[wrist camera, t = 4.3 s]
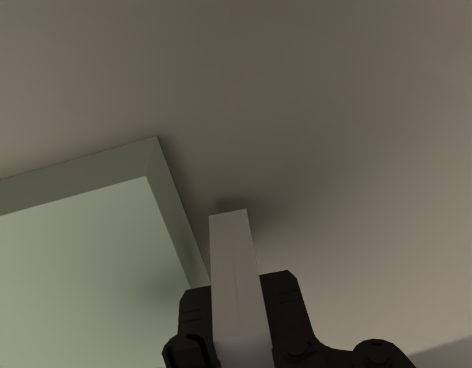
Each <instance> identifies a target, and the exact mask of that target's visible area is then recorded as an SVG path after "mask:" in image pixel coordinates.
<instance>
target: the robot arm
mask: <svg viewBox="0 0 472 368" xmlns="http://www.w3.org/2000/svg"><path fill="white" fill-rule="evenodd" d="M209 236H210V265H211V285H209V286H204V287H198V288H193V289H188V290H186V291H185V292H184V294H183V296H182V298H181V299H180V301H179V316H178V332H177V334H176V335H175V336H173V337H172V338H171V339H169V341H168V342H167V343H166V344H165V345H164V348H163V351H162V356H163V359H164V362H165V365H166V368H416V367H415V366H414V365H413V363H412V362H411V361H410V360H409V359H408V358H407V357H406V355H405V354H404V353H403V352H402V351H401V350H400V349H399V348H398V347H397V346H395V345H394V344H393V343H390V342H388V341H385V340H382V339H369V340H365V341H362V342H361V343H359V344H358V345H356V347H355V348H354V350H353V351H346V350H338V349H333V348H330V347H328V346H325V345H324V344H322V343H321V342H320V341H319V340H318V339H317V338H316V337H315V335H314V332H313V330H312V326H311V323H310V320H309V317H308V313H307V310H306V307H305V304H304V300H303V297H302V294H301V291H300V288H299V284H298V281H297V278H296V277H295V276H294V275H293V274H292V273H290V272H289V271H288V270H284V271H279V272H273V273H268V274H263V275H259V273H258V268H257V263H256V257H255V252H254V247H253V242H252V236H251V231H250V226H249V221H248V215H247V210H246V209H242V210H236V211H231V212H226V213H220V214H215V215H210V216H209Z"/></svg>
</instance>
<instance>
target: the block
mask: <svg viewBox="0 0 472 368" xmlns="http://www.w3.org/2000/svg"><path fill="white" fill-rule="evenodd" d="M209 285H211V281H210V278H209V276H208V273H207V270H206V268H205V265H204V262H203V260H202V257H201V254H200V252H199V249H198V246H197V243H196V241H195V238H194V235H193V233H192V230H191V227H190V225H189V222H188V219H187V216H186V214H185V211H184V208H183V206H182V203H181V200H180V198H179V195H178V192H177V190H176V187H175V184H174V181H173V179H172V176H171V173H170V171H169V168H168V165H167V163H166V160H165V157H164V155H163V152H162V149H161V146H160V144H159V141H158V138H157V136H154V137H150V138H147V139H143V140H140V141H136V142H133V143H129V144H125V145H122V146H118V147H115V148H111V149H108V150H104V151H101V152H97V153H93V154H90V155H86V156H83V157H79V158H76V159H72V160H69V161H65V162H61V163H58V164H54V165H51V166H47V167H44V168H40V169H37V170H33V171H29V172H26V173H22V174H19V175H15V176H12V177H8V178H5V179H1V180H0V367H1V368H159V367H163V366H166V365H165V362H164V359H163V356H162V351H163V348H164V345H165V344H166V343H167V342H168V341H169V339H171V338H172V337H173V336H175V335H176V334H177V332H178V316H179V301H180V299H181V298H182V296H183V294H184V292H185V291H186V290H188V289H193V288H198V287H204V286H209Z"/></svg>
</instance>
